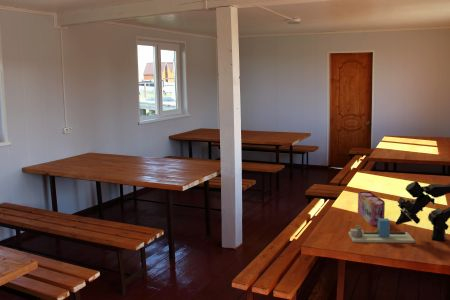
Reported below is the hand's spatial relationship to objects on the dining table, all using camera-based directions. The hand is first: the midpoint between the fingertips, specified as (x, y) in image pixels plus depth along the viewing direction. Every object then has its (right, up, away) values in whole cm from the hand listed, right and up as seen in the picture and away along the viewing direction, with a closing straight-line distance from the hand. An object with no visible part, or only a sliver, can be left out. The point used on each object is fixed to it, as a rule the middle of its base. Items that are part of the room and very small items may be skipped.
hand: (396, 224), depth 239 cm
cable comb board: (-7, -8, +2) cm, 11 cm away
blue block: (-6, -6, +1) cm, 9 cm away
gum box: (-3, -2, +33) cm, 33 cm away
